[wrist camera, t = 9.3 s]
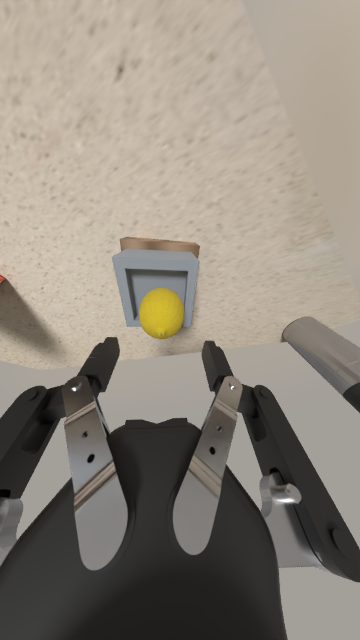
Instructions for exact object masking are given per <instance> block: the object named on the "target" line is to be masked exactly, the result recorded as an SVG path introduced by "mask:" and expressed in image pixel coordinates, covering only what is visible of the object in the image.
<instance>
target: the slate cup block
mask: <svg viewBox="0 0 360 640" xmlns="http://www.w3.org/2000/svg"><path fill="white" fill-rule="evenodd" d="M112 260H113V265H114V269H115V274H116V278H117V283H118V287H119V292H120V296H121V301H122V306H123V310H124V315H125V319H126V324H127V327H142V326H141V323H140V319H139V309H140V304H141V302H142V300H143V298H144V297H145V296H146V294H147V293H148V292H150V291H152V290H154V289H157V288H167V289H170V290H172V291H174V292H175V293H176V294H177V295H178V296H179V297H180V298H181V300H182V303H183V305H184V313H185V315H184V320H183V324H182V326H181V327H191V319H192V312H193V304H194V297H195V289H196V282H197V274H198V267H199V260H198V259H197V258H196V257H195V256H194V254H193V253H192V252H182V251H163V250H145V249H125V250H123V251H121V252H120V253H118V254H116V255H114V256H112Z"/></svg>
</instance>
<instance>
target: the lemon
mask: <svg viewBox="0 0 360 640" xmlns="http://www.w3.org/2000/svg"><path fill="white" fill-rule="evenodd" d="M184 315H185V313H184V305H183V303H182V300H181V298H180V297H179V296H178V295H177V294H176V293H175V292H174V291H172V290H170V289H167V288H157V289H154V290H152V291H150V292H148V293H147V294H146V296H145V297H144V298H143V300H142V302H141V304H140V309H139V319H140V323H141V326H142V328H143V330H144V331H145V332H146V333H147V334H148V335H150V336H152V337H154V338H158V339H166V338H169V337H172V336H173V335H175V334H176V333H177V332H178V331H179V330H180V328H181V326H182V324H183V320H184Z"/></svg>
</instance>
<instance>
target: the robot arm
mask: <svg viewBox="0 0 360 640" xmlns="http://www.w3.org/2000/svg"><path fill="white" fill-rule="evenodd" d="M283 338H284V339H285V340H286V341H287V342H288V343H289V344H290V345H291V346H292V347H293V348H294V349H295V350H296V351H297V352H298V353H299V354H300V355H301V356H302V357H303V358H304V359H305V360H306V361H307V362H308V363H309V364H310V365H311V366H312V367H313V368H314V369H315V370H316V371H317V372H318V373H319V374H320V375H321V376H322V377H323V378H324V379H325V380H326V381H327V382H329V383H330V384H331V385H332V386H333V387H334V388H335V389H336V390H337V391H338V392H339V393H340V394H341V395H342V396H343V397H344V398H345V399H346V400H347V401H348V402H349V403H350V404H351V405H352V406H353V407H354V408H355V409H356V410H357V411H358V412H359V413H360V348H359V347H358V346H356V345H355V344H353V343H351V342H350V341H348V340H347V339H345V338H344V337H342V336H341V335H339V334H338V333H336V332H334V331H333V330H331V329H330V328H328V327H327V326H325V325H324V324H322V323H321V322H319V321H317V320H316V319H314V318H312V317H304V318H301V319H298V320H296V321H294V322H293V323H291V324H290V325H289V326H288V327H287V328H286V329H285V330H284V332H283ZM119 353H120V349H119V344H118V340H117V337H107V338H106V339H105V341H104V343H99V344H98V345H97V346H95V347H94V349H93V351H92V352H91V354H90V355H89V358H88V359H87V360H86V362H85V363H84V365H83V367H82V368H81V370H80V372H79V373H78V375H77V376H76V377H73V378H72V379H70V380H68V381H67V382H66V383H65V384H64V385H61V386H57V387H54V388H50V389H46V388H45V387H44V386H35V387H32V388H30V389H28V390H26V391H25V392H23V393H22V394H21V395H20V396H19V397H18V398H17V399H16V400H15V401H14V403H13V404H12V405H11V406H10V407H9V408H8V410H7V411H6V412H5V414H4V415H3V416H2V417H1V418H0V640H288V639H287V634H286V629H285V624H284V618H283V611H282V605H281V596H280V584H279V569H278V568H285V567H311V566H313V567H316V568H319V569H322V570H324V571H327V572H330V573H333V574H336V575H338V576H341V577H344V578H346V579H349V580H352V581H355V582H360V550H359V547H358V545H357V543H356V542H355V540H354V538H353V536H352V534H351V533H350V531H349V529H348V527H347V525H346V524H345V522H344V520H343V518H342V516H341V515H340V513H339V511H338V509H337V508H336V506H335V504H334V502H333V500H332V499H331V497H330V495H329V494H328V492H327V490H326V488H325V486H324V484H323V483H322V481H321V479H320V477H319V475H318V474H317V472H316V470H315V468H314V467H313V465H312V463H311V461H310V459H309V458H308V456H307V454H306V452H305V451H304V449H303V447H302V445H301V443H300V442H299V440H298V438H297V436H296V434H295V433H294V431H293V429H292V427H291V425H290V424H289V422H288V420H287V418H286V417H285V415H284V413H283V411H282V410H281V408H280V406H279V404H278V402H277V400H276V399H275V397H274V395H273V394H272V392H271V391H270V390H269V389H268V388H266V387H265V386H262V385H256V386H255V387H254V388H252V387H249V386H247V385H243V384H241V382H240V381H239V380H238V379H237V378H235V377H234V376H233V373H232V371H231V369H230V366H229V364H228V362H227V359H226V357H225V355H224V352H223V350H222V349H221V348H220V347H217V346H216V345H215V342H214V341H205V343H204V346H203V350H202V360H203V364H204V368H205V371H206V376H207V380H208V384H209V388H210V391H215V398H214V400H213V402H212V405H211V407H210V409H209V411H208V414H207V416H206V418H205V421H204V423H203V425H202V427H201V430H200V429H199V428H197V427H196V426H195V425H193V424H191V423H189V422H187V418H172V419H170V420H167V421H164V422H161V423H158V424H156V423H152V422H149V421H145V420H126V422H125V425H123V426H121V427H119V428H117V429H115V430H114V431H113V432H111V433H110V430H109V428H108V425H107V423H106V421H105V418H104V415H103V412H102V410H101V407H100V404H99V401H98V398H97V397H98V395H99V393H100V392H105V390H106V388H107V385H108V383H109V380H110V378H111V375H112V372H113V370H114V367H115V365H116V362H117V360H118V357H119ZM236 412H240V413H242V415H243V418H244V421H245V424H246V427H247V430H248V433H249V436H250V439H251V442H252V445H253V448H254V451H255V454H256V457H257V460H258V463H259V466H260V469H261V472H262V475H263V477H262V478H261V480H260V493H261V498H262V509H261V512H260V510H259V508H258V507H257V506H256V504H255V503H254V501H253V500H252V499H251V497H250V496H249V495H248V493H247V492H246V490H245V489H244V488H243V487H242V485H241V484H240V482H239V481H238V480H237V478H236V477H235V476H234V474H233V473H232V471H231V470H230V469H229V467H228V466H227V465H226V462H227V457H228V454H229V450H230V445H231V442H232V438H233V433H234V429H235V426H236V422H237V415H236ZM63 417H66V418H67V419H66V421H65V422H64V429H65V435H66V442H67V448H68V454H69V461H70V468H71V474H72V477H71V478H70V480H69V481H68V482H67V483H66V484H65V485H64V486H63V488H62V489H61V490H60V491H59V492H58V493H57V494H56V496H55V497H54V498H53V499H52V500H51V501H50V503H49V504H48V505H47V506H46V507H45V508H44V510H43V511H42V512H41V513H40V514H39V515H38V516H37V518H36V519H35V520H34V521H33V522H32V523H31V524H30V526H29V527H28V528H27V529H26V530H25V532H24V533H23V534H22V535H21V536H20V538H19V539H18V540H17V539H16V532H17V527H18V524H19V522H20V518H21V516H22V512H23V503H22V501H21V500H20V498H21V496H22V494H23V492H24V490H25V488H26V486H27V484H28V482H29V480H30V478H31V476H32V474H33V472H34V470H35V468H36V466H37V464H38V462H39V460H40V458H41V456H42V454H43V452H44V450H45V448H46V447H47V445H48V443H49V441H50V439H51V437H52V435H53V433H54V431H55V429H56V427H57V425H58V423H59V421H60V419H61V418H63Z"/></svg>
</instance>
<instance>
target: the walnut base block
mask: <svg viewBox="0 0 360 640" xmlns="http://www.w3.org/2000/svg"><path fill="white" fill-rule="evenodd" d="M120 245H121V251H123V250H125V249H145V250H163V251H182V252H192V253H193V254H194V256H195V257H196V258H197V259H198V255H199V248H200V246H199V245H198V244H196V243H192V242H181V241H169V240H158V239H147V238H135V237H125V238H122V239H120Z"/></svg>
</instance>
